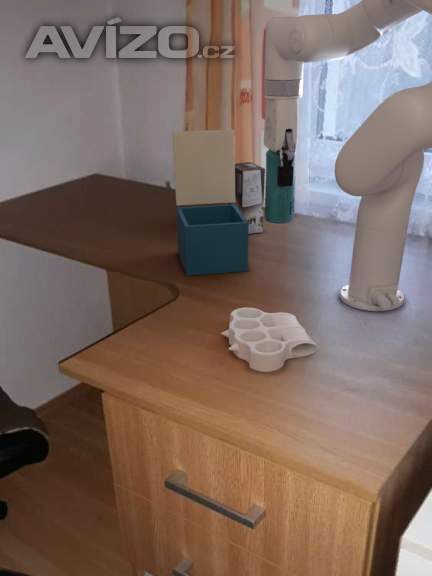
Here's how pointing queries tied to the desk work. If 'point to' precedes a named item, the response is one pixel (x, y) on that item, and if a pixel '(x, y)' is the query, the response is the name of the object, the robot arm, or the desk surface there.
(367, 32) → the robot arm
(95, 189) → the desk surface
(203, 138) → the cooler lid
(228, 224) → the box
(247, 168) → the coffee box
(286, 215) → the beverage bottle
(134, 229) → the desk surface
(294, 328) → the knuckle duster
